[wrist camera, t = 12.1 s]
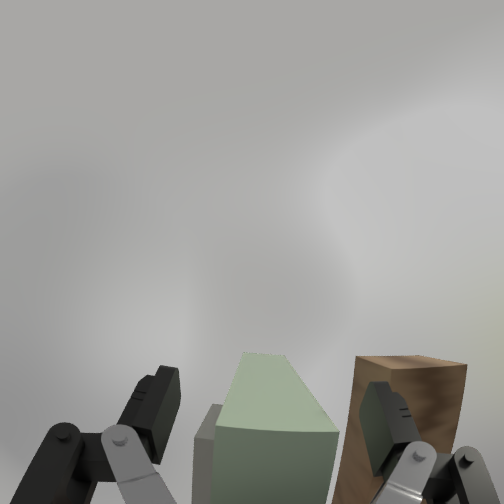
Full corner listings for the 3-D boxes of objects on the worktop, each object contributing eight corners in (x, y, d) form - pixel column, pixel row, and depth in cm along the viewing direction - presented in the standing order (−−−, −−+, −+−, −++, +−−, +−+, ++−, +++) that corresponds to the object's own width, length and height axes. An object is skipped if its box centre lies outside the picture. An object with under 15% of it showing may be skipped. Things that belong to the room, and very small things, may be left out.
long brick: (280, 394, 30) (284, 355, 30) (321, 522, 8) (339, 431, 9) (240, 390, 30) (243, 352, 31) (209, 517, 8) (215, 425, 9)
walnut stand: (368, 559, 26) (418, 355, 32) (388, 599, 16) (467, 364, 22) (314, 565, 26) (355, 356, 32) (325, 610, 16) (391, 369, 23)
